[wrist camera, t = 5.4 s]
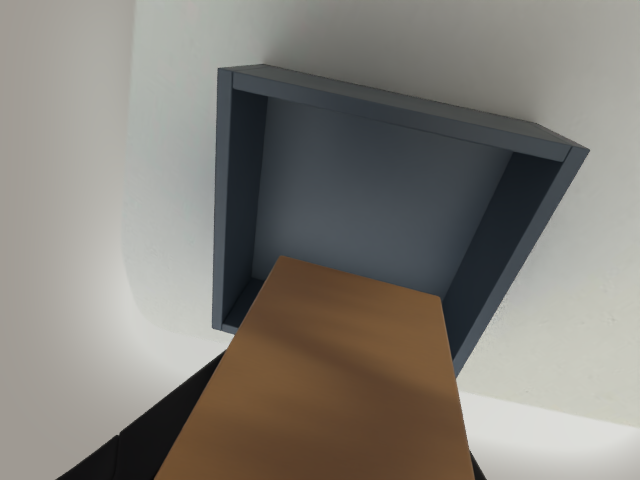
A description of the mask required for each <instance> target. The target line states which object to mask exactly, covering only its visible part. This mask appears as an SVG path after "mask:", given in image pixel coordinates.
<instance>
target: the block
mask: <svg viewBox="0 0 640 480" xmlns="http://www.w3.org/2000/svg"><path fill="white" fill-rule="evenodd" d="M154 480H475V477H474V472H473V467H472V462H471V456H470V451H469V446H468V441H467V435H466V430H465V425H464V420H463V414H462V409H461V404H460V399H459V393H458V388H457V383H456V378H455V372H454V367H453V362H452V357H451V351H450V346H449V341H448V336H447V330H446V325H445V320H444V315H443V309H442V304H441V299H440V297H438V296H436V295H432V294H428V293H424V292H420V291H417V290H413V289H409V288H405V287H401V286H397V285H394V284H390V283H386V282H382V281H378V280H374V279H371V278H367V277H363V276H359V275H355V274H351V273H348V272H344V271H340V270H336V269H332V268H328V267H325V266H321V265H317V264H313V263H309V262H305V261H302V260H298V259H294V258H290V257H286V256H279V258H278V259H277V261H276V263H275V265H274V266H273V268H272V270H271V272H270V274H269V275H268V277H267V279H266V281H265V282H264V284H263V286H262V288H261V290H260V291H259V293H258V295H257V297H256V298H255V300H254V302H253V304H252V306H251V307H250V309H249V311H248V313H247V314H246V316H245V318H244V320H243V322H242V323H241V325H240V327H239V329H238V330H237V332H236V334H235V336H234V338H233V339H232V341H231V343H230V345H229V346H228V348H227V350H226V352H225V354H224V355H223V357H222V359H221V361H220V362H219V364H218V366H217V368H216V370H215V371H214V373H213V375H212V377H211V378H210V380H209V382H208V384H207V386H206V387H205V389H204V391H203V393H202V394H201V396H200V398H199V400H198V402H197V403H196V405H195V407H194V409H193V410H192V412H191V414H190V416H189V418H188V419H187V421H186V423H185V425H184V426H183V428H182V430H181V432H180V434H179V435H178V437H177V439H176V441H175V442H174V444H173V446H172V448H171V450H170V451H169V453H168V455H167V457H166V458H165V460H164V462H163V464H162V466H161V467H160V469H159V471H158V473H157V474H156V476H155V478H154Z"/></svg>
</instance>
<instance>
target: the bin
mask: <svg viewBox="0 0 640 480" xmlns="http://www.w3.org/2000/svg"><path fill="white" fill-rule="evenodd" d="M589 152H590V149H588V148H586V147H584V146H582V145H580V144H578V143H576V142H574V141H572V140H570V139H568V138H566V137H563V136H561V135H559V134H557V133H555V132H553V131H551V130H549V129H547V128H545V127H543V126H541V125H539V124H537V123H533V122H528V121H523V120H519V119H514V118H509V117H505V116H500V115H496V114H491V113H486V112H482V111H477V110H472V109H468V108H463V107H459V106H454V105H449V104H445V103H440V102H436V101H431V100H426V99H422V98H417V97H412V96H408V95H403V94H399V93H394V92H389V91H385V90H380V89H375V88H371V87H366V86H362V85H357V84H352V83H348V82H343V81H338V80H334V79H329V78H325V77H320V76H315V75H311V74H306V73H302V72H297V71H292V70H288V69H283V68H278V67H274V66H269V65H265V64H259V65H247V66H236V67H224V68H218V75H217V119H216V164H215V209H214V254H213V298H212V328H213V329H216V330H220V331H221V330H222V331H223V332H227V333H231V334H234V335H235V334H236V332H237V330H238V329H239V327H240V325H241V323H242V322H243V320H244V318H245V316H246V314H247V313H248V311H249V309H250V307H251V306H252V304H253V302H254V300H255V298H256V297H257V295H258V293H259V291H260V290H261V288H262V286H263V284H264V282H265V281H266V279H267V277H268V275H269V274H270V272H271V270H272V268H273V266H274V265H275V263H276V261H277V259H278V258H279V256H286V257H290V258H294V259H298V260H302V261H305V262H309V263H313V264H317V265H321V266H325V267H328V268H332V269H336V270H340V271H344V272H348V273H351V274H355V275H359V276H363V277H367V278H371V279H374V280H378V281H382V282H386V283H390V284H394V285H397V286H401V287H405V288H409V289H413V290H417V291H420V292H424V293H428V294H432V295H436V296H438V297H440V299H441V304H442V309H443V315H444V320H445V325H446V330H447V336H448V341H449V346H450V351H451V357H452V362H453V367H454V372H455V378H457V376H458V375H459V373H460V371H461V369H462V368H463V366H464V364H465V363H466V361H467V359H468V357H469V356H470V354H471V352H472V351H473V349H474V347H475V346H476V344H477V342H478V340H479V339H480V337H481V335H482V334H483V332H484V330H485V329H486V327H487V325H488V323H489V322H490V320H491V318H492V317H493V315H494V313H495V312H496V310H497V308H498V306H499V305H500V303H501V301H502V300H503V298H504V296H505V295H506V293H507V291H508V289H509V288H510V286H511V284H512V283H513V281H514V279H515V277H516V276H517V274H518V272H519V271H520V269H521V267H522V266H523V264H524V262H525V260H526V259H527V257H528V255H529V254H530V252H531V250H532V249H533V247H534V245H535V243H536V242H537V240H538V238H539V237H540V235H541V233H542V232H543V230H544V228H545V226H546V225H547V223H548V221H549V220H550V218H551V216H552V215H553V213H554V211H555V209H556V208H557V206H558V204H559V203H560V201H561V199H562V197H563V196H564V194H565V192H566V191H567V189H568V187H569V186H570V184H571V182H572V180H573V179H574V177H575V175H576V174H577V172H578V170H579V169H580V167H581V165H582V163H583V162H584V160H585V158H586V157H587V155H588V153H589Z"/></svg>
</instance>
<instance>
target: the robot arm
mask: <svg viewBox="0 0 640 480" xmlns="http://www.w3.org/2000/svg"><path fill="white" fill-rule="evenodd" d="M226 350H227V349H226ZM226 350H225V351H224V352H222V353H221V354H220V355H218V356H217V357H216V358H215V359H213V360H212V361H211V362H209V363H208V364H207V365H206V366H205V367H203V368H202V369H201V370H199V371H198V372H197V373H195V374H194V375H193V376H191V377H190V378H189V379H188V380H187V381H185V382H184V383H183V384H181V385H180V386H179V387H177V388H176V389H175V390H174V391H172V392H171V393H170V394H168V395H167V396H166V397H165V398H163V399H162V400H161V401H159V402H158V403H157V404H156V405H154V406H153V407H152V408H151V409H149V410H148V411H147V412H145V413H144V414H143V415H142V416H140V417H139V418H138V419H136V420H135V421H134V422H132V423H131V424H130V425H129V426H127V427H126V428H125V429H123V430H122V431H121V432H120V434H119V435H116V436H114V437H113V438H112V439H111V440H109V441H108V442H107V443H105V444H104V445H103V446H101V447H100V448H99V449H98V450H96V451H95V452H94V453H92V454H91V455H89V456H88V457H87V458H85V459H84V460H83V461H81V462H80V463H79V464H77V465H76V466H75V467H73V468H72V469H71V470H69V471H68V472H66V473H65V474H63V475H62V476H60V477H59V478H57V479H56V480H154V478H155V476H156V474H157V473H158V471H159V469H160V467H161V466H162V464H163V462H164V460H165V458H166V457H167V455H168V453H169V451H170V450H171V448H172V446H173V444H174V442H175V441H176V439H177V437H178V435H179V434H180V432H181V430H182V428H183V426H184V425H185V423H186V421H187V419H188V418H189V416H190V414H191V412H192V410H193V409H194V407H195V405H196V403H197V402H198V400H199V398H200V396H201V394H202V393H203V391H204V389H205V387H206V386H207V384H208V382H209V380H210V378H211V377H212V375H213V373H214V371H215V370H216V368H217V366H218V364H219V362H220V361H221V359H222V357H223V355H224V354H225V352H226ZM469 451H470V450H469ZM470 456H471V462H472V467H473V472H474V477H475V480H487V479H486V478H485V476H484V474H483V473H482V471H481V469H480V467H479V465H478V464H477V462H476V460H475V458H474V457H473V455H472V453H471V451H470Z"/></svg>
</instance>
